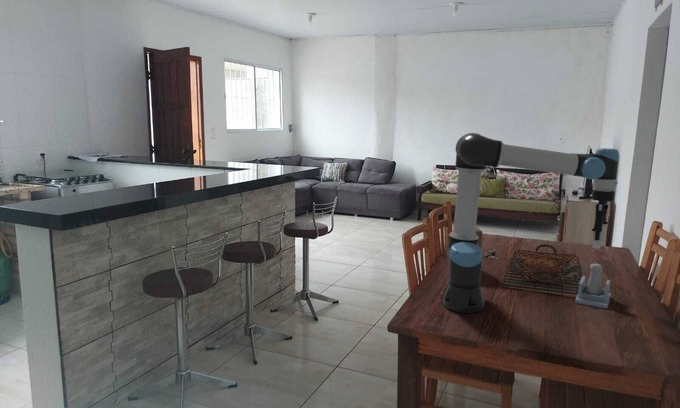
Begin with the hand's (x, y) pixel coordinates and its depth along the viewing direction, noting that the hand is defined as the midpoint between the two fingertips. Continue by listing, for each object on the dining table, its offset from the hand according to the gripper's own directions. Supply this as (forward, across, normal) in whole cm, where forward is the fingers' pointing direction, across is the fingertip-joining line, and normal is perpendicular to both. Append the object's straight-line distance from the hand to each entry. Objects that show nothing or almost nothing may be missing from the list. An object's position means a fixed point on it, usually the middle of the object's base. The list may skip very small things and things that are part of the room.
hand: (598, 244), depth 187 cm
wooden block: (+23, +10, +54) cm, 59 cm away
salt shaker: (+21, 0, 0) cm, 21 cm away
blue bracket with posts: (+23, 0, 0) cm, 23 cm away
